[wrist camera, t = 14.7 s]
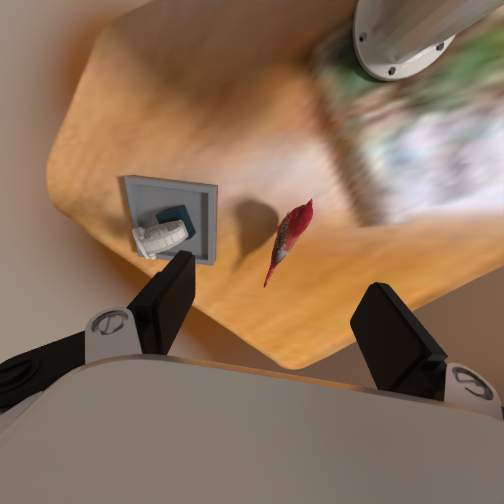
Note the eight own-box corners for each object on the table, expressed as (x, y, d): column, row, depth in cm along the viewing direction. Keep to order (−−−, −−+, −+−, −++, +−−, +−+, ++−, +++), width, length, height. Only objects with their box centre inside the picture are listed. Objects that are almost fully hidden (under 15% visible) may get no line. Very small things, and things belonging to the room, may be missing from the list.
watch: (153, 212, 36) (113, 235, 27) (193, 202, 35) (166, 221, 25) (167, 239, 39) (134, 269, 29) (204, 230, 38) (183, 258, 28)
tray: (132, 175, 34) (123, 176, 32) (217, 185, 34) (214, 187, 32) (144, 251, 41) (138, 256, 39) (215, 259, 41) (213, 265, 39)
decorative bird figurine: (310, 192, 34) (326, 206, 25) (270, 272, 42) (271, 304, 33) (294, 185, 34) (305, 198, 25) (257, 267, 41) (255, 299, 33)
